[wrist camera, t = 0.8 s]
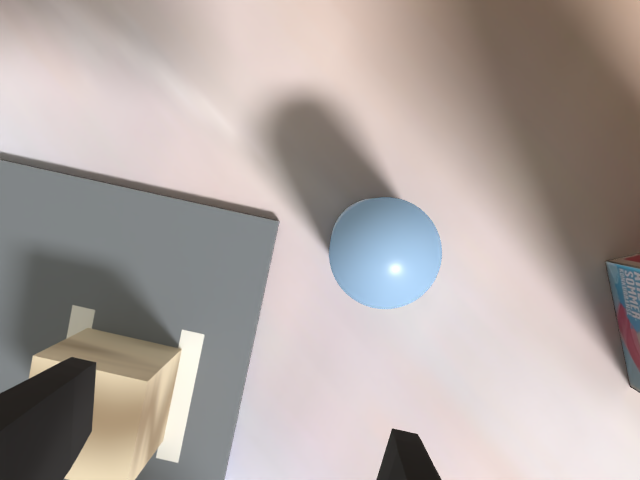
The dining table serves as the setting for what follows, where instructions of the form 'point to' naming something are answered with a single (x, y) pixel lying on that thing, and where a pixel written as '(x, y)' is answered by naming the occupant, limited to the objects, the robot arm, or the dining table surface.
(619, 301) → the juice carton
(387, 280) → the blue capsule
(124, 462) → the maple block
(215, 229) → the letter board
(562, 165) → the dining table surface
